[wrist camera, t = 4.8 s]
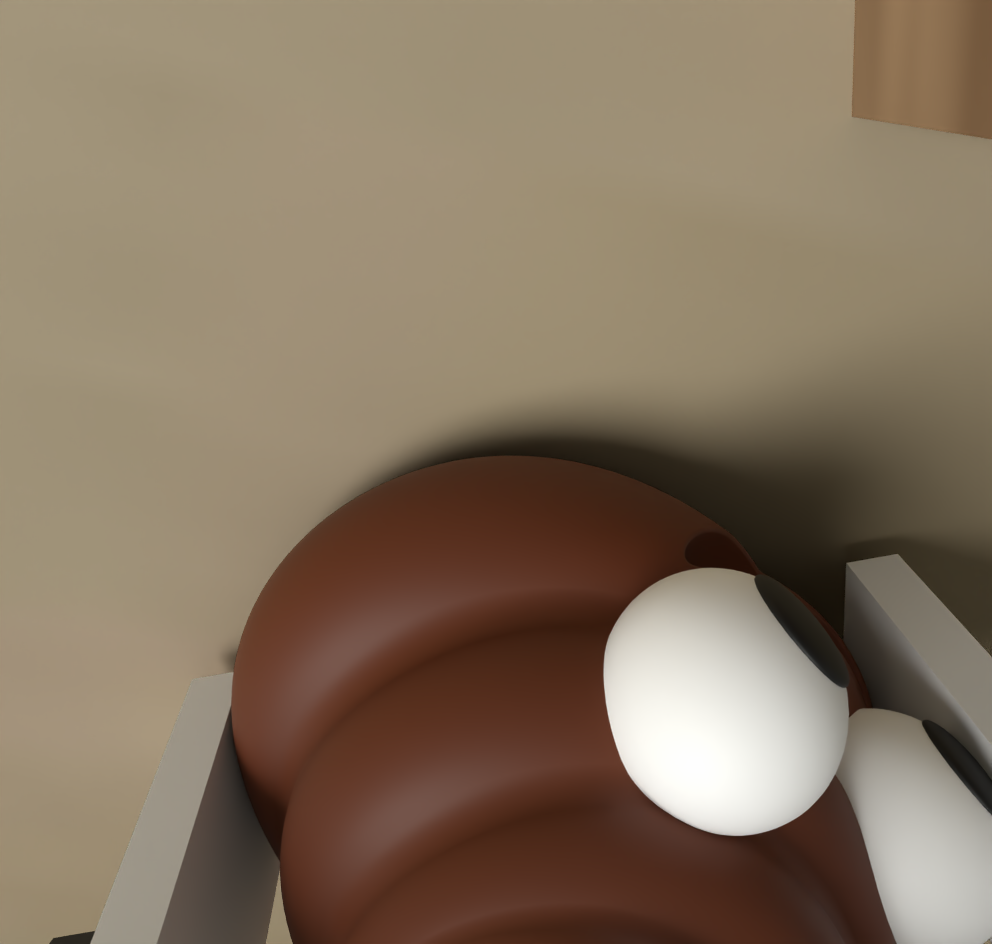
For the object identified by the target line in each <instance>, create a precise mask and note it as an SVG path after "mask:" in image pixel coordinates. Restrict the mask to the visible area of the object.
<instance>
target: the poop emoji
mask: <svg viewBox="0 0 992 944" xmlns="http://www.w3.org/2000/svg"><path fill="white" fill-rule="evenodd" d="M231 710H232V728H233V737H234V744H235V750H236V755H237V759H238V764H239V768H240V772H241V775H242V779H243V782H244V785H245V789H246V791H247V794H248V797H249V800H250V802H251V805H252V807H253V810H254V812H255V815H256V817H257V819H258V822H259V824H260V826H261V828H262V830H263V832H264V834H265V836H266V838H267V840H268V842H269V844H270V845H271V847H272V849H273V851H274V853H275V854H276V856H277V858H278V859H279V861H280V879H281V892H282V899H283V906H284V911H285V916H286V921H287V925H288V928H289V932H290V936H291V939H292V942H293V944H983V943H984V942H986V941H987V940H988V939H989V938H990V937H991V936H992V780H991V778H990V777H989V776H988V774H987V773H986V772H985V770H984V769H983V768H982V766H981V765H980V764H979V763H978V762H977V760H976V759H975V758H974V757H973V756H972V755H971V754H970V752H969V751H968V750H967V749H966V748H965V747H964V746H963V745H962V744H961V743H960V742H959V741H958V740H957V739H956V738H954V737H953V736H952V735H951V734H950V733H949V732H947V731H946V730H945V729H944V728H942V727H941V726H939V725H938V724H936V723H934V722H932V721H930V720H923V721H921V720H918V719H916V718H914V717H911V716H908V715H905V714H902V713H899V712H895V711H890V710H884V709H873V707H872V703H871V699H870V696H869V693H868V690H867V687H866V684H865V681H864V679H863V676H862V674H861V672H860V670H859V667H858V665H857V663H856V662H855V660H854V658H853V656H852V654H851V653H850V651H849V649H848V648H847V646H846V645H845V643H844V642H843V640H842V639H841V638H840V636H839V635H838V634H837V632H836V631H835V630H834V629H833V628H832V626H831V625H830V624H829V623H828V622H827V621H826V620H825V619H824V618H823V617H822V616H821V614H819V613H818V612H817V611H816V610H815V609H814V608H813V607H812V606H811V605H810V604H809V603H807V602H806V601H805V600H804V599H803V598H801V597H800V596H799V595H797V594H796V593H795V592H793V591H792V590H790V589H789V588H788V587H786V586H784V585H783V584H781V583H780V582H778V581H776V580H775V579H773V578H771V577H769V576H767V575H765V574H763V573H762V572H761V571H760V570H759V569H758V568H757V566H756V564H755V563H754V561H753V560H752V558H751V557H750V555H749V554H748V553H747V551H746V550H745V549H744V548H743V546H742V545H741V544H740V543H739V542H738V541H737V539H736V538H735V537H734V536H733V535H731V534H730V533H729V532H728V531H726V530H725V529H724V528H722V527H721V526H719V525H718V524H717V523H715V522H714V521H712V520H711V519H709V518H708V517H706V516H705V515H703V514H702V513H700V512H698V511H697V510H695V509H694V508H692V507H690V506H688V505H687V504H685V503H683V502H682V501H680V500H678V499H676V498H674V497H672V496H670V495H668V494H667V493H664V492H662V491H660V490H658V489H656V488H654V487H652V486H649V485H647V484H645V483H642V482H640V481H637V480H635V479H633V478H630V477H627V476H624V475H621V474H619V473H616V472H612V471H609V470H606V469H602V468H599V467H595V466H591V465H587V464H583V463H578V462H573V461H568V460H562V459H555V458H547V457H535V456H488V457H477V458H469V459H462V460H456V461H451V462H446V463H442V464H437V465H434V466H430V467H426V468H423V469H419V470H416V471H413V472H410V473H407V474H405V475H402V476H400V477H397V478H395V479H392V480H390V481H388V482H385V483H383V484H381V485H379V486H377V487H375V488H373V489H371V490H369V491H367V492H365V493H364V494H362V495H360V496H358V497H357V498H355V499H353V500H352V501H350V502H349V503H347V504H345V505H344V506H342V507H341V508H339V509H338V510H337V511H335V512H334V513H332V514H331V515H330V516H328V517H327V518H326V519H325V520H323V521H322V522H321V523H320V524H318V525H317V526H316V527H315V528H314V529H313V530H311V531H310V532H309V533H308V534H307V535H306V536H305V537H304V538H303V539H302V540H301V541H300V542H299V543H298V544H297V545H296V546H295V547H294V548H293V549H292V551H291V552H290V553H289V554H288V555H287V556H286V557H285V559H284V560H283V561H282V562H281V564H280V565H279V566H278V567H277V569H276V570H275V572H274V573H273V575H272V576H271V577H270V579H269V580H268V582H267V583H266V585H265V587H264V588H263V590H262V592H261V593H260V595H259V597H258V599H257V601H256V603H255V605H254V607H253V609H252V611H251V613H250V616H249V618H248V620H247V623H246V626H245V628H244V631H243V634H242V637H241V641H240V644H239V648H238V652H237V656H236V661H235V666H234V673H233V681H232V697H231Z"/></svg>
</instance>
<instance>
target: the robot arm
mask: <svg viewBox="0 0 992 944" xmlns="http://www.w3.org/2000/svg"><path fill="white" fill-rule="evenodd" d="M843 642H844V643H845V645H846V646H847V648H848V649H849V651H850V653H851V654H852V656H853V658H854V660H855V662H856V663H857V665H858V667H859V670H860V672H861V674H862V676H863V679H864V681H865V684H866V687H867V690H868V693H869V696H870V699H871V703H872V707H873V709H884V710H890V711H895V712H899V713H902V714H905V715H908V716H911V717H914V718H916V719H918V720H921V721H923V720H930V721H932V722H934V723H936V724H938V725H939V726H941V727H942V728H944V729H945V730H946V731H947V732H949V733H950V734H951V735H952V736H953V737H954V738H956V739H957V740H958V741H959V742H960V743H961V744H962V745H963V746H964V747H965V748H966V749H967V750H968V751H969V752H970V754H971V755H972V756H973V757H974V758H975V759H976V760H977V762H978V763H979V764H980V765H981V766H982V768H983V769H984V770H985V772H986V773H987V774H988V776H989V777H990V778H991V780H992V657H991V656H990V654H989V653H988V652H987V651H986V650H985V649H984V648H983V647H982V646H981V645H980V644H979V642H978V641H977V640H976V639H975V638H974V637H973V636H972V635H971V634H970V633H969V631H968V630H967V629H966V628H965V627H964V626H963V625H962V624H961V623H960V622H959V621H958V619H957V618H956V617H955V616H954V615H953V614H952V613H951V612H950V611H949V610H948V608H947V607H946V606H945V605H944V604H943V603H942V602H941V601H940V600H939V599H938V598H937V596H936V595H935V594H934V593H933V592H932V591H931V590H930V589H929V588H928V587H927V585H926V584H925V583H924V582H923V581H922V580H921V579H920V578H919V577H918V576H917V575H916V573H915V572H914V571H913V570H912V569H911V568H910V567H909V566H908V565H907V564H906V562H905V561H904V560H903V559H902V558H901V557H900V556H899V555H898V554H894V555H889V556H883V557H877V558H872V559H866V560H860V561H855V562H849V563H846V585H845V610H844V636H843ZM233 673H234V672H230V673H224V674H219V675H213V676H208V677H202V678H196V679H192V681H191V684H190V686H189V689H188V692H187V694H186V697H185V699H184V702H183V705H182V707H181V710H180V712H179V715H178V718H177V720H176V723H175V725H174V728H173V731H172V733H171V736H170V738H169V741H168V744H167V746H166V749H165V751H164V754H163V756H162V759H161V762H160V764H159V767H158V769H157V772H156V775H155V777H154V780H153V782H152V785H151V788H150V790H149V793H148V795H147V798H146V801H145V803H144V806H143V808H142V811H141V814H140V816H139V819H138V821H137V824H136V826H135V829H134V832H133V834H132V837H131V839H130V842H129V845H128V847H127V850H126V852H125V855H124V858H123V860H122V863H121V865H120V868H119V871H118V873H117V876H116V878H115V881H114V884H113V886H112V889H111V891H110V894H109V896H108V899H107V902H106V904H105V907H104V909H103V912H102V915H101V917H100V920H99V922H98V925H97V928H96V930H95V931H93V932H87V933H81V934H75V935H69V936H63V937H58V938H53V940H52V941H51V942H50V943H49V944H266V939H267V933H268V928H269V923H270V918H271V912H272V907H273V902H274V897H275V891H276V886H277V881H278V875H279V870H280V861H279V859H278V858H277V856H276V854H275V853H274V851H273V849H272V847H271V845H270V844H269V842H268V840H267V838H266V836H265V834H264V832H263V830H262V828H261V826H260V824H259V822H258V819H257V817H256V815H255V812H254V810H253V807H252V805H251V802H250V800H249V797H248V794H247V791H246V789H245V785H244V782H243V779H242V775H241V772H240V768H239V764H238V759H237V755H236V750H235V744H234V737H233V728H232V710H231V697H232V681H233ZM989 940H990V941H991V943H992V936H991V937H990V938H989Z"/></svg>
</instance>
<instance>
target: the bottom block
mask: <svg viewBox="0 0 992 944" xmlns="http://www.w3.org/2000/svg"><path fill="white" fill-rule="evenodd" d="M852 117H858V118H864V119H870V120H876V121H883V122H889V123H895V124H901V125H907V126H913V127H920V128H926V129H932V130H938V131H944V132H950V133H957V134H963V135H969V136H975V137H981V138H987V139H992V0H855V27H854V60H853V94H852Z"/></svg>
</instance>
